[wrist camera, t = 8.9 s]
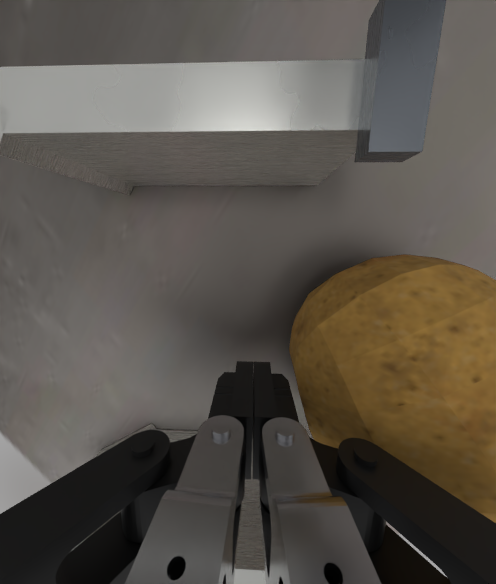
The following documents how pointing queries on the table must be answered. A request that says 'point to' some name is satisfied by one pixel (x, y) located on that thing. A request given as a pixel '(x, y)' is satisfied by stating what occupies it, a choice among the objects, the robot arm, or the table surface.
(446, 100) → the table surface
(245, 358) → the table surface
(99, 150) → the channel
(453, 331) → the potato
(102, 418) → the table surface
